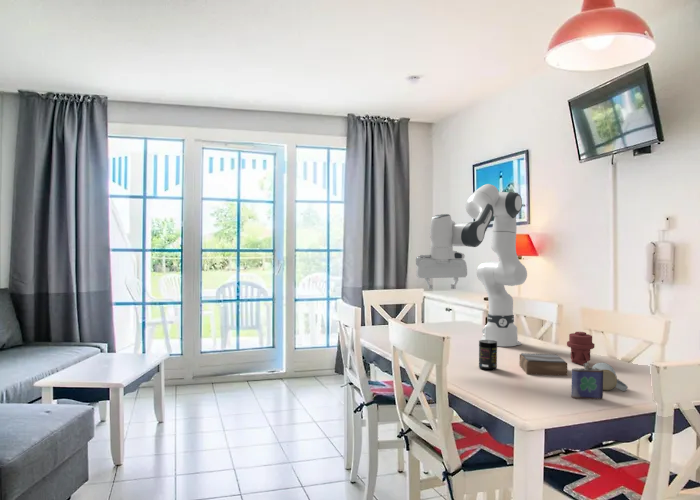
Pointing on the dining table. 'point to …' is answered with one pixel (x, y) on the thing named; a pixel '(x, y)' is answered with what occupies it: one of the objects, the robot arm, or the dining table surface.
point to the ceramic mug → (610, 377)
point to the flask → (587, 383)
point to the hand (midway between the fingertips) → (441, 289)
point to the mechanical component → (580, 347)
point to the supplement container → (488, 355)
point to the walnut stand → (543, 364)
